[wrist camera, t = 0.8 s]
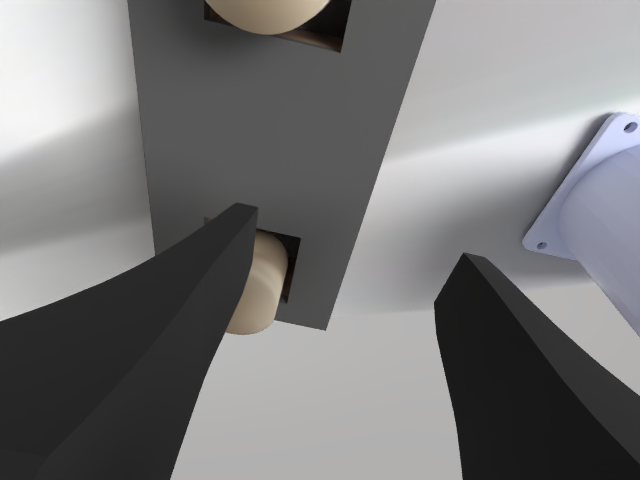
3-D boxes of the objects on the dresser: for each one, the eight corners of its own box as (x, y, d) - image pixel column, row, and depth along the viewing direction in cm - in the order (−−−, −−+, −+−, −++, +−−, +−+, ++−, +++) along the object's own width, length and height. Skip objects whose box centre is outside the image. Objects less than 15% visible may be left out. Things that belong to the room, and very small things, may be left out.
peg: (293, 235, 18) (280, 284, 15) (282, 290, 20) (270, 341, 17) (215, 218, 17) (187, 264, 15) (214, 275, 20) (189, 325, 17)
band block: (466, -157, 12) (507, -213, 8) (330, 284, 24) (325, 330, 21) (168, -240, 11) (91, -332, 8) (186, 254, 24) (159, 296, 20)
